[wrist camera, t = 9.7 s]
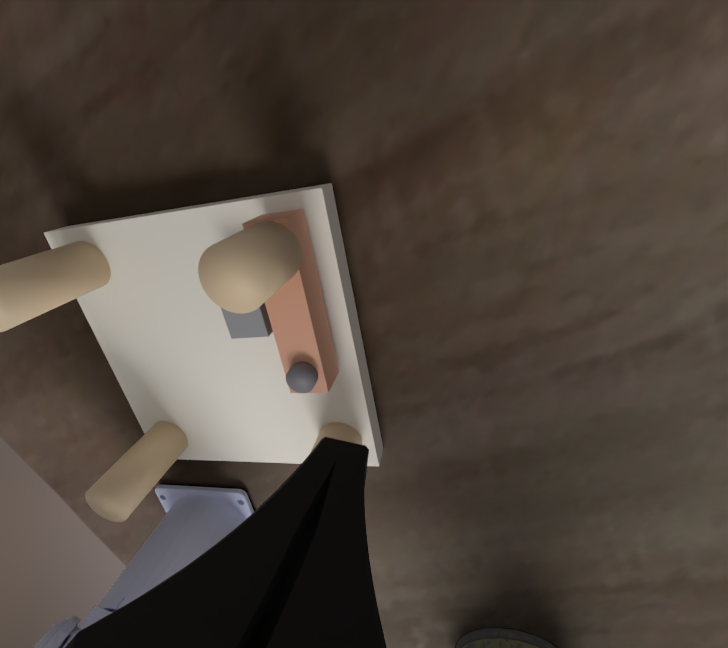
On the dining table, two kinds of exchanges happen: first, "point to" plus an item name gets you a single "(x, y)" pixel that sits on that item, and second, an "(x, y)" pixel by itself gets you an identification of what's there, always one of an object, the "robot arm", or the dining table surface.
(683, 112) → the dining table surface
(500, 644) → the thermos
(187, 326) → the stool seat
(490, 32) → the dining table surface
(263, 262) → the folding leg
